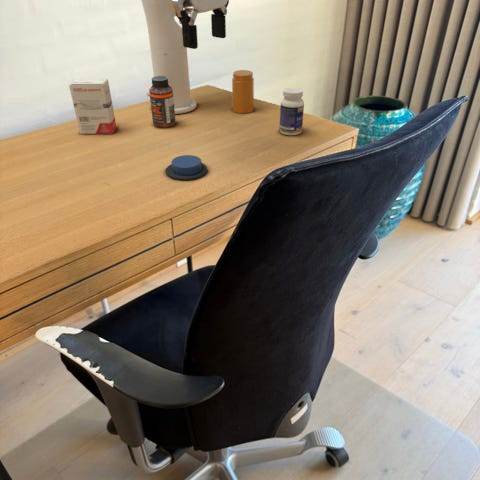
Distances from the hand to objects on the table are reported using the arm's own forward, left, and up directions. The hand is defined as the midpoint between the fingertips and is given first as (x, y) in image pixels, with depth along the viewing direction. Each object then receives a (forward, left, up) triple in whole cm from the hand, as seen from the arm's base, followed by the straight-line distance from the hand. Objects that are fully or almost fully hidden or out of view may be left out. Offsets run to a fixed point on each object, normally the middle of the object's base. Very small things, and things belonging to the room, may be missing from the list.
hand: (205, 42), depth 96 cm
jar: (-8, +28, -23) cm, 37 cm away
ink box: (-32, -4, -23) cm, 40 cm away
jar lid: (+2, -12, -21) cm, 24 cm away
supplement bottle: (-20, +8, -23) cm, 32 cm away
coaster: (+2, -12, -23) cm, 25 cm away
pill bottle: (+11, +20, -23) cm, 32 cm away
